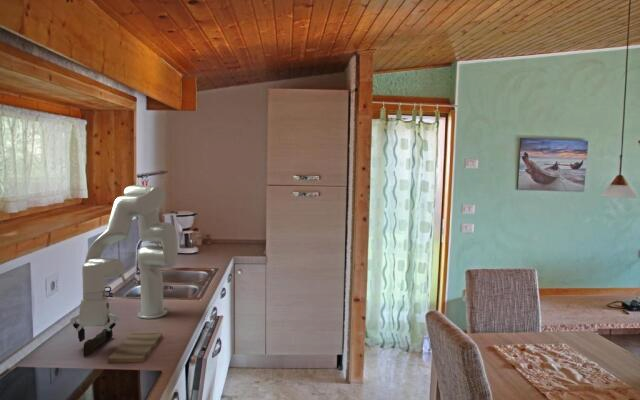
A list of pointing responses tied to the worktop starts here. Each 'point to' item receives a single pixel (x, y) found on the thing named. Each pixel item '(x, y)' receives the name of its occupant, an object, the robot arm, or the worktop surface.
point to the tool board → (135, 348)
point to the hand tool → (94, 343)
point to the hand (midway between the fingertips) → (95, 340)
